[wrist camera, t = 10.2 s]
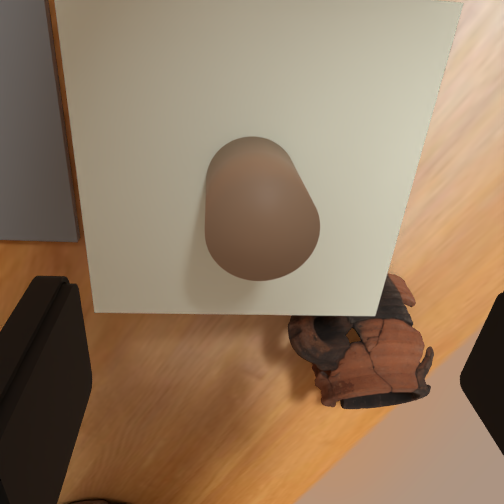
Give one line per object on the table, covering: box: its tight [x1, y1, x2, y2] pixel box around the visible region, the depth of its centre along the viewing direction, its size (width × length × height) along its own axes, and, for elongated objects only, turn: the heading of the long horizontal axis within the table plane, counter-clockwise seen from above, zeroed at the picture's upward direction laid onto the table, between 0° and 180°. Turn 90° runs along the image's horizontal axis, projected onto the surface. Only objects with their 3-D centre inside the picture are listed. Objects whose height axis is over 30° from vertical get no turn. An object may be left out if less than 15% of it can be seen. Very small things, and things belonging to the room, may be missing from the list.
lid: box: [54, 0, 464, 316], centre depth 17 cm, size 15×15×6 cm
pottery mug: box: [288, 274, 434, 409], centre depth 31 cm, size 12×10×8 cm
